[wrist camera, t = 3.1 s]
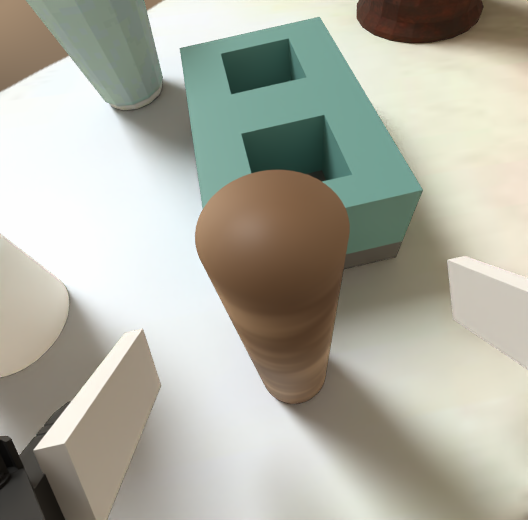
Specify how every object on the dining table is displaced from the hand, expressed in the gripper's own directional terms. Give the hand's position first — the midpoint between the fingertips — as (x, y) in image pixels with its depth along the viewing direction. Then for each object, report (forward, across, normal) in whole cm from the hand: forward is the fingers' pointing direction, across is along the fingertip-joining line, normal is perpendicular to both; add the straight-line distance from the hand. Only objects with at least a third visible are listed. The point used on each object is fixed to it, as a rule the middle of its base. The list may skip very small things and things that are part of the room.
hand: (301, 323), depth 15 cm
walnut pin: (+6, -1, -6) cm, 8 cm away
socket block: (+17, +2, +6) cm, 18 cm away
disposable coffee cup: (+29, -11, +18) cm, 36 cm away
